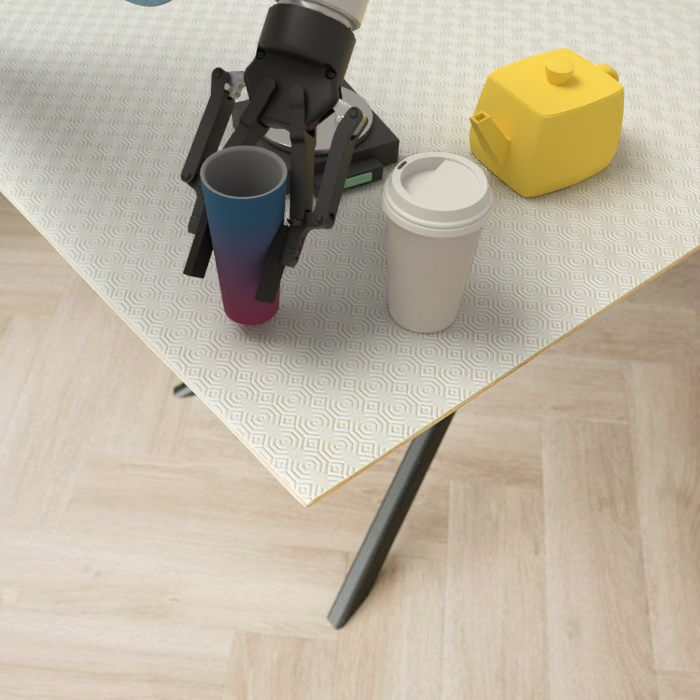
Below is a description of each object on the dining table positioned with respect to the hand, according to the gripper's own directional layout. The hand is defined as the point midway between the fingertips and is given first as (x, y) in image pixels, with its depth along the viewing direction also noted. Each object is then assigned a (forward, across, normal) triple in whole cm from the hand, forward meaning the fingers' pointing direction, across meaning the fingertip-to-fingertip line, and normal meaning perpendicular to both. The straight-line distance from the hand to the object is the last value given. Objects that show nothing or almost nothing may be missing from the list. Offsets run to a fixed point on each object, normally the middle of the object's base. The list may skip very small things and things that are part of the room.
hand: (228, 288), depth 76 cm
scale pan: (-19, +7, -25) cm, 32 cm away
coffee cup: (-3, -14, -14) cm, 20 cm away
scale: (-16, +6, -27) cm, 32 cm away
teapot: (-23, -16, -33) cm, 43 cm away
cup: (+1, 0, -6) cm, 7 cm away
